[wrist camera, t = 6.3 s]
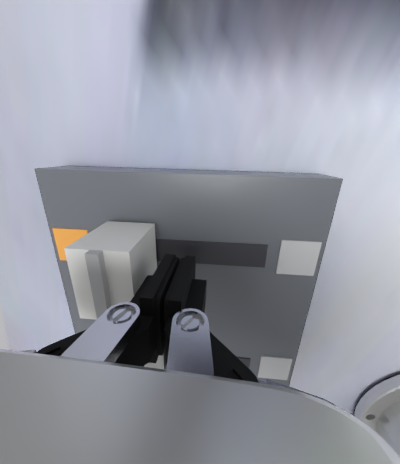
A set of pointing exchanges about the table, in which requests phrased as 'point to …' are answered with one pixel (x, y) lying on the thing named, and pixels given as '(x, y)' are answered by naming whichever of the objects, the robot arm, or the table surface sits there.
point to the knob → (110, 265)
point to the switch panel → (213, 243)
